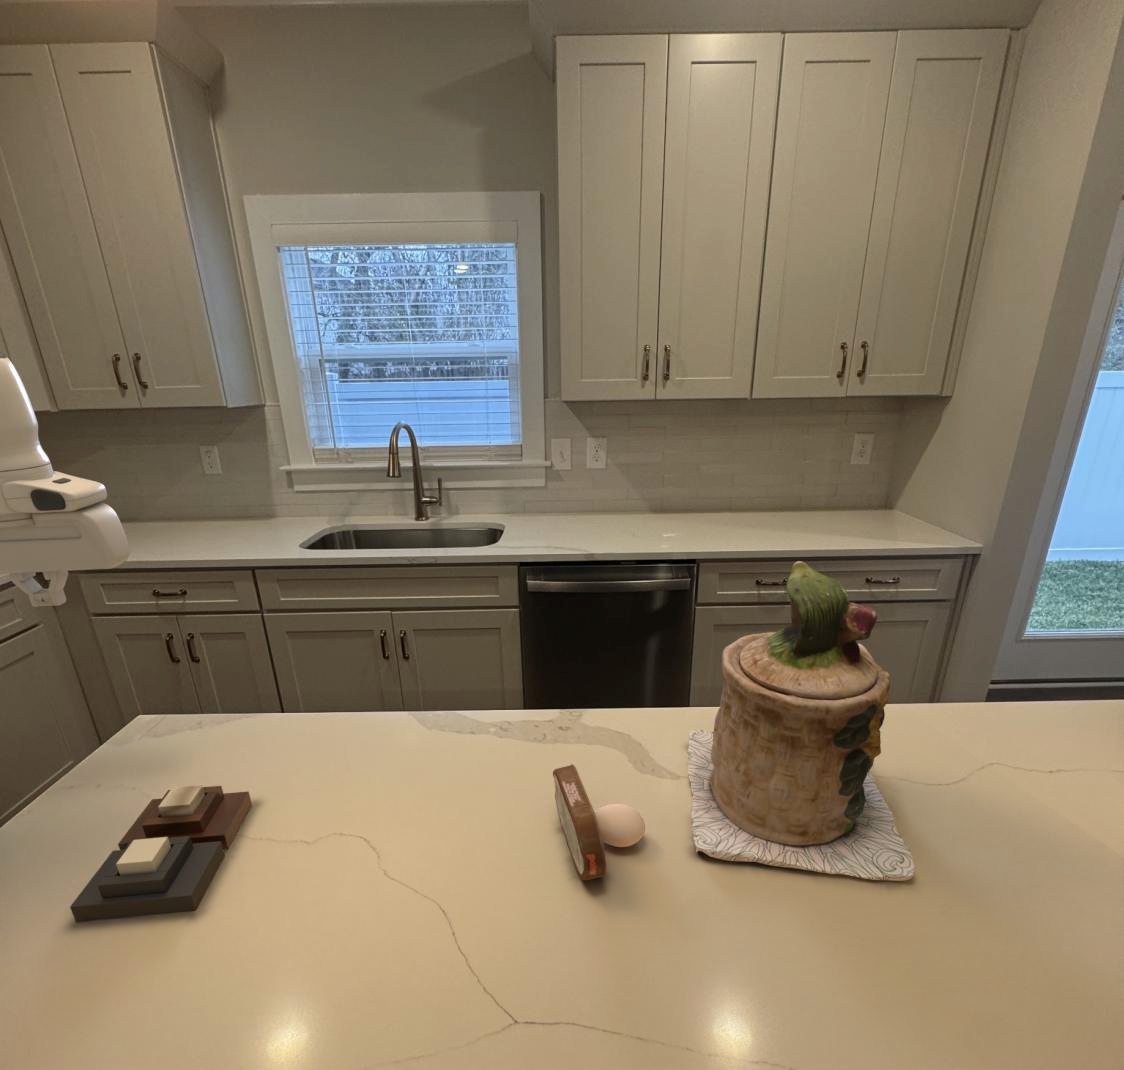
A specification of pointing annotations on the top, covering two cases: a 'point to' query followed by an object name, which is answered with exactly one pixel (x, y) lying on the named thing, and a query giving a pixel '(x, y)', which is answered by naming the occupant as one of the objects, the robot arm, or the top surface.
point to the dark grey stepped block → (151, 884)
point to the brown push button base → (194, 819)
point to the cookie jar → (799, 745)
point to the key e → (182, 801)
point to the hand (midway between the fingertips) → (50, 604)
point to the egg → (620, 825)
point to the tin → (579, 824)
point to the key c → (144, 856)
